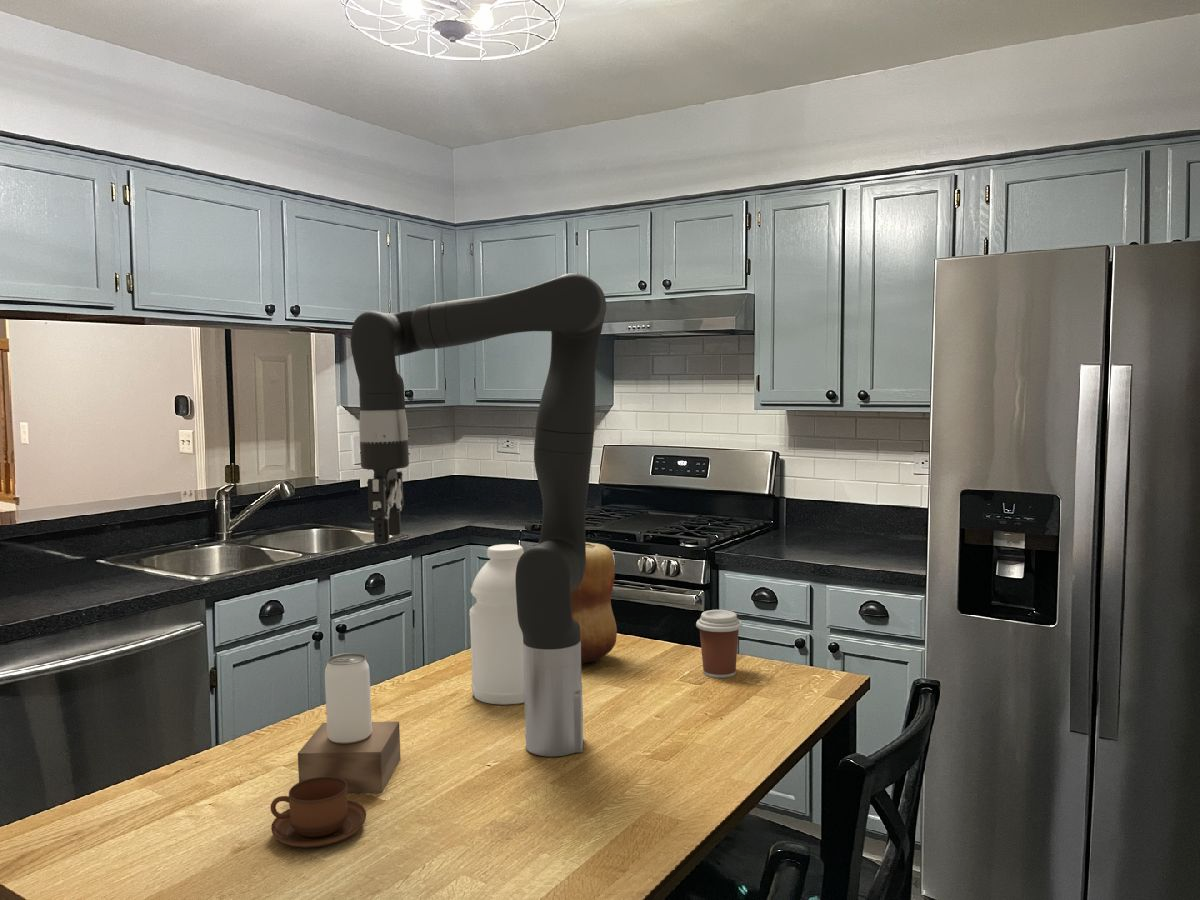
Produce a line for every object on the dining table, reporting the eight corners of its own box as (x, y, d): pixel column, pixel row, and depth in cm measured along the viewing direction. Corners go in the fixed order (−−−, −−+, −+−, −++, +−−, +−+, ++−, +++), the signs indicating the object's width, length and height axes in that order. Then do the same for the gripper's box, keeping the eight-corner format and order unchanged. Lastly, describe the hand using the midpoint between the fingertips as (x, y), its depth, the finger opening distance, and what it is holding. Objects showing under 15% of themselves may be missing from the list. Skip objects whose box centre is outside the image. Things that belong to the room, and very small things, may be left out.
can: (360, 746, 137) (357, 665, 136) (319, 743, 138) (315, 664, 137) (379, 729, 143) (375, 652, 142) (340, 727, 144) (336, 651, 143)
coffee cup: (745, 680, 182) (745, 619, 181) (698, 680, 182) (698, 620, 181) (739, 665, 191) (738, 607, 190) (694, 666, 191) (694, 608, 190)
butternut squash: (618, 671, 189) (616, 548, 187) (552, 672, 188) (549, 550, 186) (616, 651, 202) (614, 537, 200) (554, 652, 202) (551, 538, 200)
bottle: (560, 688, 179) (557, 543, 176) (516, 711, 167) (512, 556, 165) (502, 677, 186) (498, 538, 184) (456, 697, 174) (451, 549, 172)
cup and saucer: (275, 865, 115) (273, 816, 115) (268, 823, 126) (266, 779, 126) (374, 844, 120) (372, 797, 120) (358, 805, 131) (357, 763, 131)
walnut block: (400, 758, 147) (399, 721, 146) (382, 792, 135) (380, 752, 134) (324, 759, 147) (322, 722, 146) (299, 793, 135) (297, 753, 134)
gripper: (397, 440, 142) (402, 546, 143) (416, 435, 156) (419, 531, 157) (348, 442, 142) (353, 547, 143) (371, 436, 156) (375, 532, 157)
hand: (388, 539), depth 150 cm, fingers open, 8 cm apart
